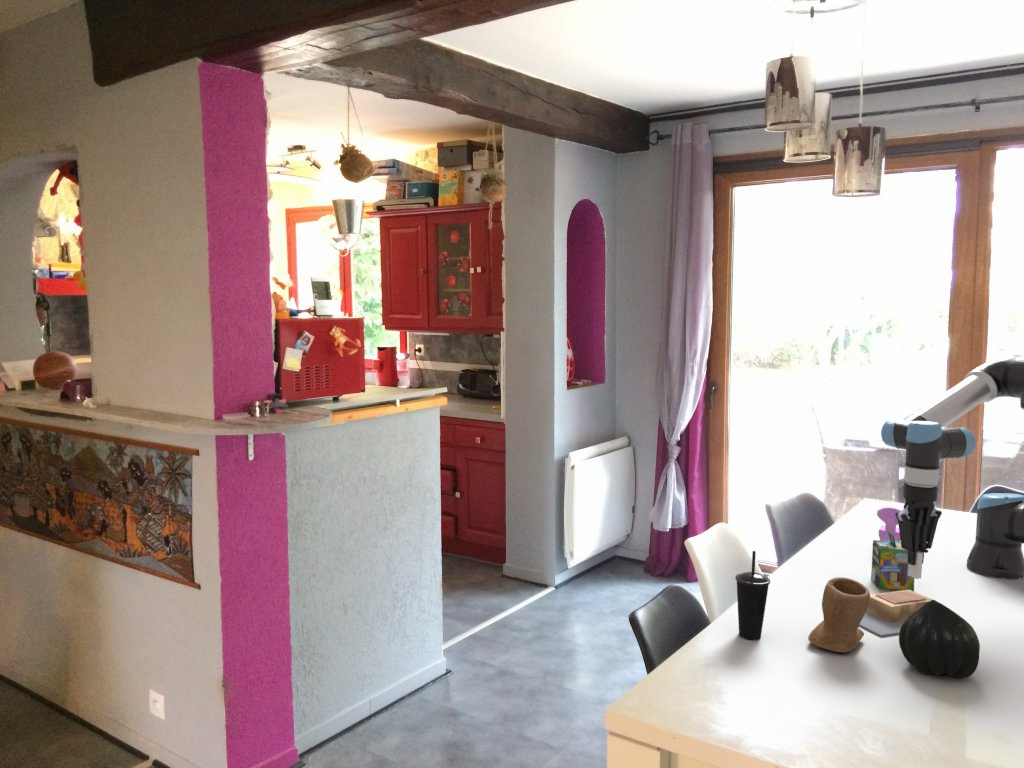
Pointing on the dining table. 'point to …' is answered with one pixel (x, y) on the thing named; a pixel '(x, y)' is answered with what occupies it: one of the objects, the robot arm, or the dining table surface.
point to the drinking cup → (751, 602)
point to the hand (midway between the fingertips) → (914, 576)
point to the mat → (880, 625)
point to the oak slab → (896, 605)
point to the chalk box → (890, 565)
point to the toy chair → (888, 524)
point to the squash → (939, 641)
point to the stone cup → (841, 615)
